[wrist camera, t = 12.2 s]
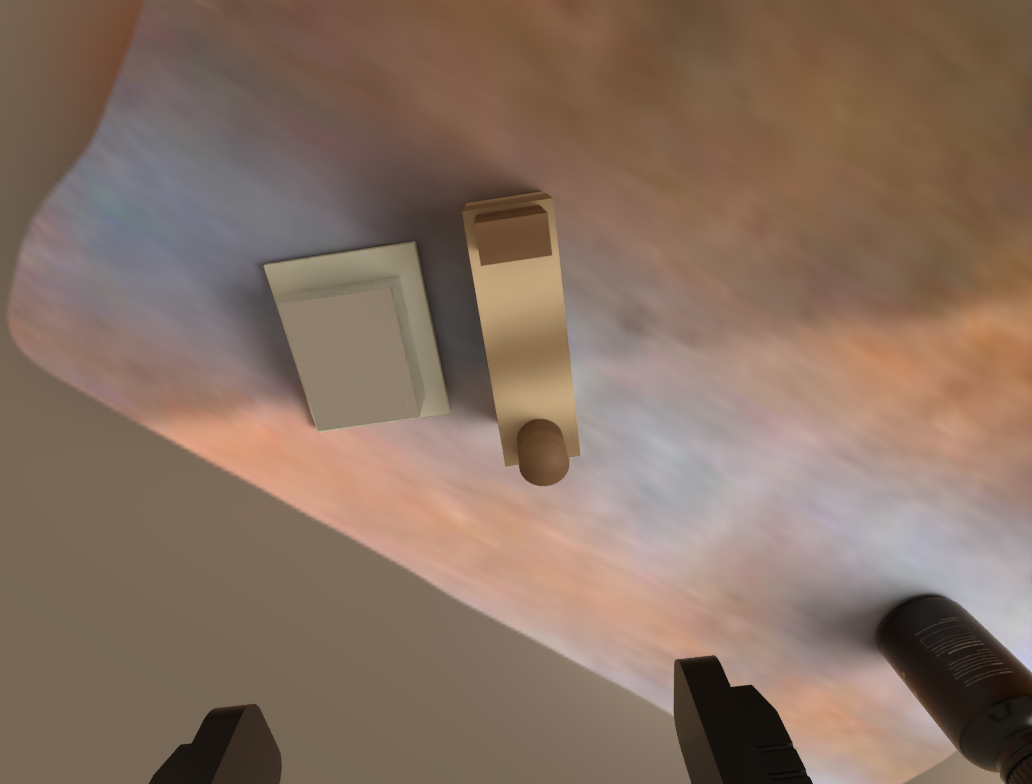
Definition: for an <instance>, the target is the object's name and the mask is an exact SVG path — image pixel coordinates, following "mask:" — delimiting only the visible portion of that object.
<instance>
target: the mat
mask: <svg viewBox="0 0 1032 784" xmlns="http://www.w3.org/2000/svg"><path fill="white" fill-rule="evenodd" d="M263 266H264V269H265V272H266V275H267V278H268V281H269V284H270V287H271V290H272V293H273V296H274V300H275V303H276V306H277V309H278V312H279V315H280V318H281V321H282V324H283V327H284V330H285V333H286V336H287V340H288V343H289V346H290V349H291V352H292V355H293V358H294V361H295V364H296V360H295V357H294V354H293V351H292V348H291V345H290V341H289V338H288V335H287V332H286V329H285V326H284V322H283V319H282V316H281V313H280V310H279V307H278V304H279V303H280V302H282V301H283V300H285V299H286V298H287V297H289V296H290V295H292V294H293V293H295V292H296V291H297V290H303V289H310V288H317V287H324V286H331V285H338V284H345V283H352V282H359V281H366V280H373V279H380V278H387V277H394V276H400V280H401V285H402V289H403V294H404V298H405V303H406V307H407V312H408V316H409V321H410V326H411V330H412V335H413V339H414V344H415V348H416V353H417V357H418V362H419V367H420V371H421V376H422V380H423V385H424V389H425V394H426V395H425V399H424V402H423V406H422V410H421V414H420V417H417V418H422V417H429V416H436V415H443V414H450V411H451V408H450V403H449V398H448V393H447V389H446V384H445V379H444V374H443V370H442V365H441V360H440V355H439V350H438V346H437V341H436V336H435V331H434V326H433V322H432V317H431V312H430V307H429V303H428V298H427V293H426V288H425V283H424V279H423V274H422V269H421V264H420V260H419V255H418V250H417V245H416V241H411V242H405V243H398V244H392V245H385V246H378V247H372V248H365V249H359V250H352V251H345V252H339V253H332V254H325V255H319V256H312V257H306V258H299V259H292V260H286V261H279V262H272V263H267V264H265V265H263ZM296 367H297V364H296ZM297 370H298V367H297ZM298 373H299V370H298ZM299 376H300V373H299ZM300 380H301V383H302V386H303V382H302V379H301V376H300ZM303 389H304V386H303ZM304 392H305V389H304ZM305 395H306V392H305ZM306 398H307V395H306ZM307 401H308V398H307ZM308 404H309V401H308ZM309 407H310V405H309ZM310 410H311V408H310ZM311 413H312V411H311ZM312 416H313V414H312ZM410 419H415V418H410ZM313 420H314V417H313ZM403 420H408V419H403ZM396 421H402V420H396ZM388 422H395V421H388ZM388 422H381V423H388ZM314 423H315V420H314ZM381 423H374V424H381ZM374 424H367V425H374ZM367 425H360V426H367ZM315 426H316V424H315ZM360 426H353V427H360ZM353 427H345V428H338V429H331V430H324V431H318V430H317V432H318V433H319V432H326V431H333V430H340V429H347V428H353ZM316 429H317V427H316Z"/></svg>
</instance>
